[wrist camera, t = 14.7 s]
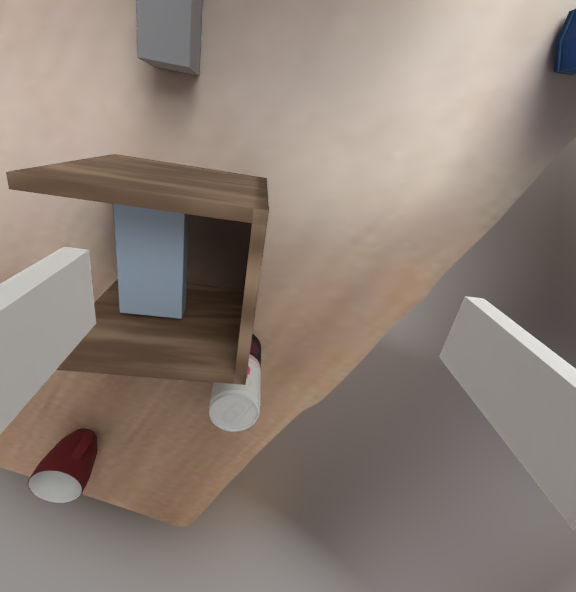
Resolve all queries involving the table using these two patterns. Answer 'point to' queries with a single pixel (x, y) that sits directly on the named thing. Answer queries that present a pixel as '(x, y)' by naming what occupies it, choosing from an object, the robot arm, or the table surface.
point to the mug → (65, 468)
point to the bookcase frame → (199, 298)
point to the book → (566, 47)
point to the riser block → (170, 34)
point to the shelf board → (151, 260)
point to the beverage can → (238, 397)
